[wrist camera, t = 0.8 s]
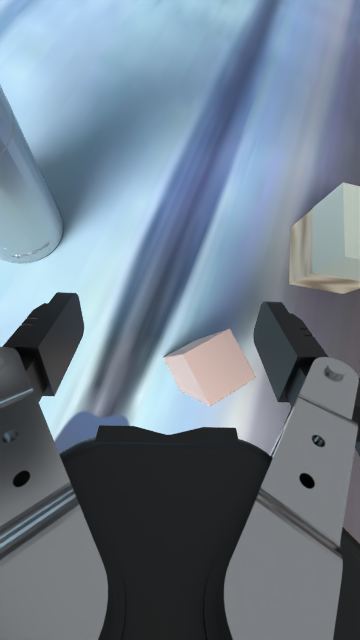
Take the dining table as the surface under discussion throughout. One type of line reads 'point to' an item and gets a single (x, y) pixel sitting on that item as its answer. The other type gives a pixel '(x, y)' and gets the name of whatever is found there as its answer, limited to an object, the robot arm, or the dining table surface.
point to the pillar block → (210, 367)
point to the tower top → (337, 233)
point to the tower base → (303, 262)
